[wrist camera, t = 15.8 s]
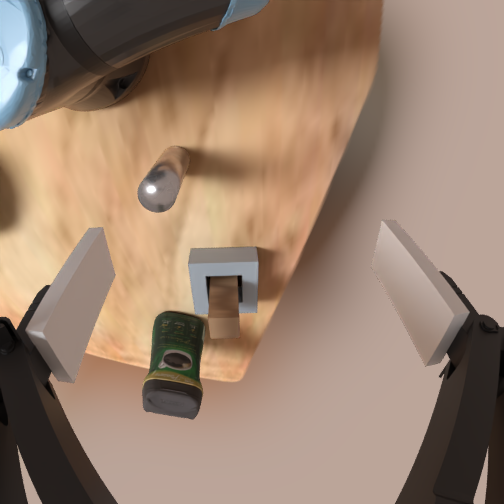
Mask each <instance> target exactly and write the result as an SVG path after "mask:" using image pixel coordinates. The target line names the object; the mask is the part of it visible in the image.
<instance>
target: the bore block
mask: <svg viewBox="0 0 504 504" xmlns="http://www.w3.org/2000/svg"><path fill="white" fill-rule="evenodd" d="M188 266H189V274H190V281H191V289H192V296H193V302H194V309H195V314H208V308H209V291H210V287H209V280H208V276H231V275H242V287H238V303H239V313H257V300H258V255H257V248H256V247H230V248H196V249H191V250H190V256H189V262H188Z"/></svg>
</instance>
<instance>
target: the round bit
mask: <svg viewBox="0 0 504 504" xmlns="http://www.w3.org/2000/svg"><path fill="white" fill-rule="evenodd" d="M189 164H190V157H189V154H188V152H187V151H186V150H185V149H184V148H182V147H179V146H172V147H169V148H167V149H166V150H165V151H164V152H163V153H162V155H161V156H160V157H159V159H158V160H157V161H156V163H155V164H154V165H153V167H152V168H151V170H150V171H149V172H148V174H147V175H146V177H145V178H144V179H143V181H142V182H141V184H140V185H139V188H138V198H139V201H140V203H141V204H142V205H143V206H144V207H145V208H146V209H147V210H149V211H152V212H164V211H167V210H168V209H170V208H171V207H172V206H173V204H174V203H175V200H176V198H177V195H178V192H179V190H180V187H181V184H182V182H183V179H184V177H185V174H186V172H187V169H188V167H189Z"/></svg>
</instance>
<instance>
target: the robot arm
mask: <svg viewBox="0 0 504 504" xmlns="http://www.w3.org/2000/svg"><path fill="white" fill-rule="evenodd" d="M268 2H269V0H0V131H1V130H4V129H9V128H10V129H13V128H15V127H18V126H20V125H22V124H23V123H24V122H25V121H28V120H30V119H33V118H35V117H38V116H40V115H43V114H46V113H48V112H51V111H54V110H57V109H59V108H62V107H66V108H68V109H71V110H75V111H94V110H99V109H102V108H105V107H107V106H110V105H112V104H114V103H116V102H118V101H120V100H121V99H123V98H124V97H125V96H127V95H128V94H129V93H130V92H131V91H132V90H133V89H134V88H135V86H136V85H137V84H138V83H139V81H140V79H141V78H142V76H143V74H144V72H145V70H146V67H147V65H148V61H149V57H150V53H152V52H155V51H157V50H159V49H161V48H164V47H166V46H169V45H171V44H173V43H176V42H178V41H181V40H183V39H186V38H189V37H191V36H194V35H197V34H199V33H202V32H205V31H208V30H211V31H216V30H219V29H221V28H222V27H224V26H225V25H226V24H229V23H232V22H235V21H238V20H241V19H244V18H248V17H251V16H253V15H255V14H257V13H258V12H260V11H261V10H262V8H264V7H265V6H266V5H267V4H268ZM371 268H372V270H373V271H374V273H375V275H376V276H377V278H378V280H379V282H380V283H381V285H382V287H383V288H384V290H385V292H386V294H387V295H388V297H389V299H390V301H391V302H392V304H393V306H394V308H395V310H396V311H397V313H398V315H399V317H400V319H401V320H402V322H403V324H404V326H405V328H406V330H407V332H408V333H409V336H410V337H411V339H412V341H413V343H414V345H415V347H416V349H417V351H418V353H419V355H420V357H421V359H422V361H423V363H424V365H425V367H426V366H430V365H434V364H438V363H440V362H441V361H442V359H443V358H444V356H445V354H446V353H447V354H448V356H449V358H450V360H449V362H448V363H447V365H446V366H445V368H444V369H443V371H442V372H441V374H440V375H439V377H440V378H441V377H442V375H443V374H444V378H443V381H442V385H441V389H440V392H439V395H438V398H437V402H436V405H435V408H434V411H433V414H432V417H431V420H430V423H429V426H428V429H427V432H426V434H425V437H424V440H423V442H422V445H421V448H420V450H419V453H418V455H417V458H416V460H415V463H414V465H413V467H412V469H411V471H410V474H409V476H408V478H407V480H406V483H405V485H404V487H403V489H402V491H401V493H400V495H399V497H398V499H397V501H396V503H395V504H474V503H473V500H474V496H475V493H476V489H477V486H478V483H479V480H480V476H481V472H482V469H483V465H484V461H485V457H486V453H487V449H488V475H487V488H486V499H485V504H504V327H499V325H498V323H497V322H496V321H495V320H494V319H493V318H491V317H489V316H487V315H479V314H478V313H477V312H476V310H475V309H474V307H473V306H472V305H471V303H470V302H469V301H468V299H467V298H466V297H465V295H464V294H462V291H461V290H460V289H459V288H457V285H456V284H455V282H454V281H453V280H452V278H450V277H449V276H448V275H446V274H445V273H444V272H442V271H440V272H439V271H438V270H437V268H436V267H435V266H434V265H433V263H432V262H431V261H430V260H429V259H428V257H427V256H426V255H425V254H424V253H423V251H422V250H421V249H420V248H419V247H418V245H417V244H416V243H415V242H414V241H413V240H412V238H411V237H410V236H409V235H408V234H407V233H406V232H405V230H404V229H403V228H402V227H401V226H400V225H399V224H398V223H397V221H395V220H382V222H381V227H380V231H379V236H378V241H377V245H376V249H375V252H374V256H373V260H372V264H371ZM114 278H115V271H114V268H113V264H112V260H111V257H110V253H109V249H108V245H107V241H106V237H105V233H104V229H103V227H98V228H89V229H88V230H87V232H86V233H85V234H84V236H83V237H82V239H81V240H80V242H79V243H78V244H77V246H76V247H75V249H74V250H73V252H72V253H71V255H70V256H69V258H68V259H67V261H66V262H65V264H64V265H63V267H62V268H61V270H60V271H59V273H58V275H57V276H56V278H55V279H54V281H53V283H52V284H51V285H46V286H45V287H44V288H43V289H42V290H40V291H39V292H38V293H37V295H36V297H35V298H34V300H33V303H31V305H30V307H29V308H28V311H27V312H26V314H25V315H24V317H23V319H22V321H21V322H20V324H19V326H18V328H17V330H16V329H15V328H14V326H13V324H12V323H11V321H10V319H9V318H7V317H0V504H28V502H27V498H26V493H25V489H24V484H23V479H22V474H21V468H20V462H19V455H18V448H19V451H20V453H21V456H22V459H23V461H24V464H25V466H26V469H27V471H28V473H29V476H30V478H31V481H32V482H33V485H34V487H35V489H36V491H37V494H38V496H39V498H40V500H41V502H42V504H118V503H117V502H116V500H115V499H114V497H113V496H112V495H111V493H110V492H109V490H108V489H107V487H106V486H105V484H104V483H103V481H102V480H101V478H100V476H99V475H98V473H97V472H96V470H95V468H94V467H93V465H92V463H91V462H90V460H89V458H88V457H87V455H86V453H85V451H84V450H83V448H82V446H81V444H80V442H79V440H78V438H77V437H76V435H75V433H74V431H73V429H72V427H71V425H70V423H69V421H68V419H67V417H66V415H65V413H64V410H63V408H62V406H61V404H60V402H59V399H58V397H57V395H56V393H55V390H54V388H53V385H52V384H51V382H50V381H49V376H50V374H51V372H52V373H53V375H54V376H55V377H56V379H57V380H58V381H62V382H69V383H74V382H75V380H76V376H77V373H78V370H79V367H80V365H81V362H82V359H83V355H84V353H85V350H86V347H87V345H88V342H89V339H90V337H91V334H92V331H93V329H94V326H95V323H96V321H97V318H98V316H99V313H100V311H101V308H102V306H103V303H104V301H105V299H106V296H107V294H108V292H109V289H110V287H111V285H112V282H113V280H114ZM17 445H18V448H17ZM488 447H489V448H488Z"/></svg>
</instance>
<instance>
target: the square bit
mask: <svg viewBox="0 0 504 504" xmlns="http://www.w3.org/2000/svg"><path fill="white" fill-rule="evenodd" d="M208 323H209V331H210V338H211V339H221V338H240V326H239V303H238V282H237V275H231V276H210V291H209V308H208Z"/></svg>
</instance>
